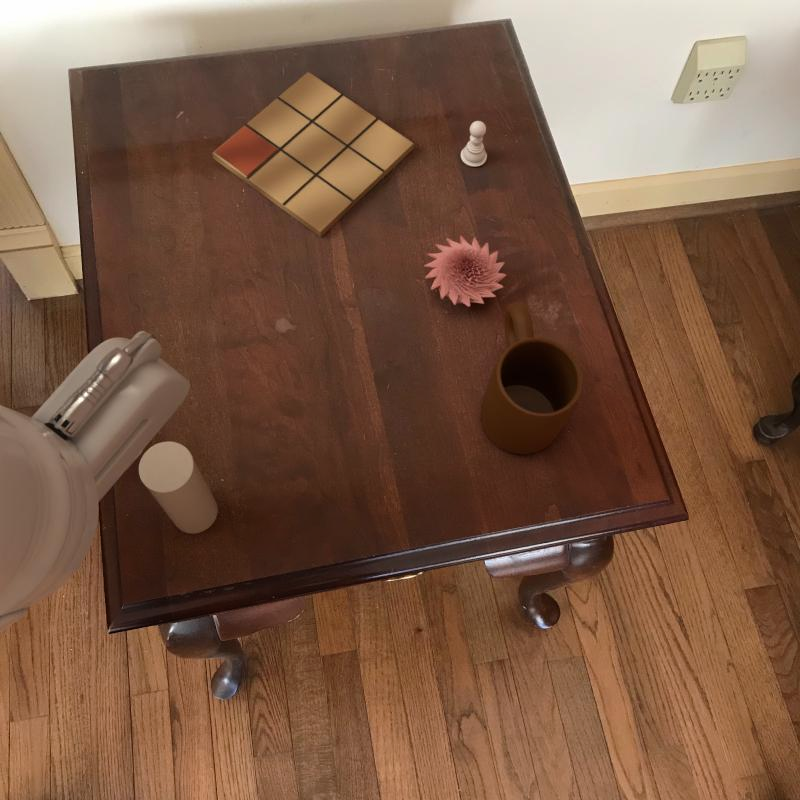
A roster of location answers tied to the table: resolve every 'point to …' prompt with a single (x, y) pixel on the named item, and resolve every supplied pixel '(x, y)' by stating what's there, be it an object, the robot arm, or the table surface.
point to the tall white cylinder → (178, 486)
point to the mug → (529, 388)
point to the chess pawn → (475, 146)
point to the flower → (465, 272)
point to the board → (313, 153)
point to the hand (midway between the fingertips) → (70, 515)
